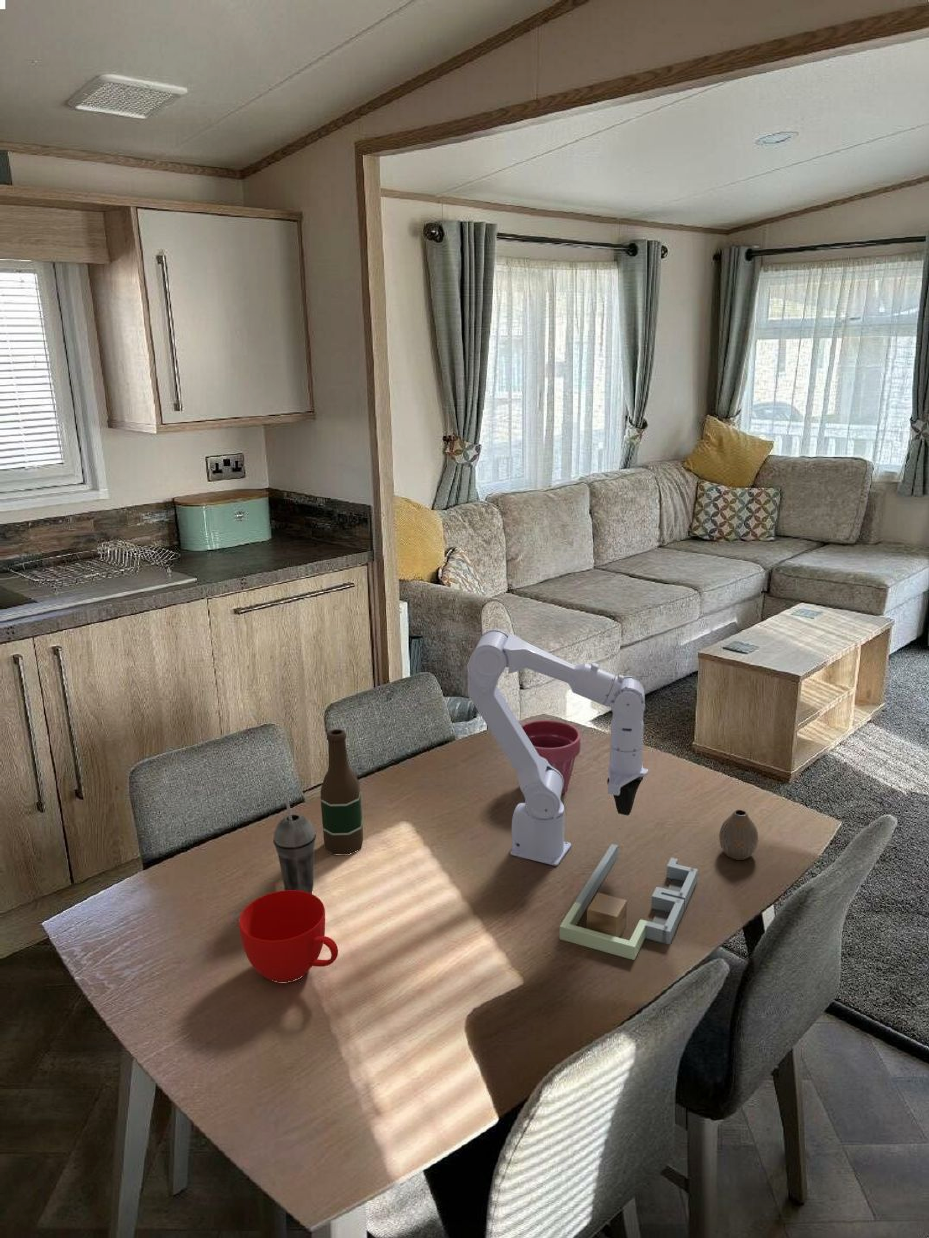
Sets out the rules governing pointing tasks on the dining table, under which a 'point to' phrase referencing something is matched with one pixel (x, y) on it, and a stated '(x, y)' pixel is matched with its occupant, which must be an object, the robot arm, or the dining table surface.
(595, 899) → the walnut block
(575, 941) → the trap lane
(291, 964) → the ceramic cup
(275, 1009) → the dining table surface
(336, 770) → the beer bottle
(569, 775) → the plant pot
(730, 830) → the vase
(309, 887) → the beverage cup
